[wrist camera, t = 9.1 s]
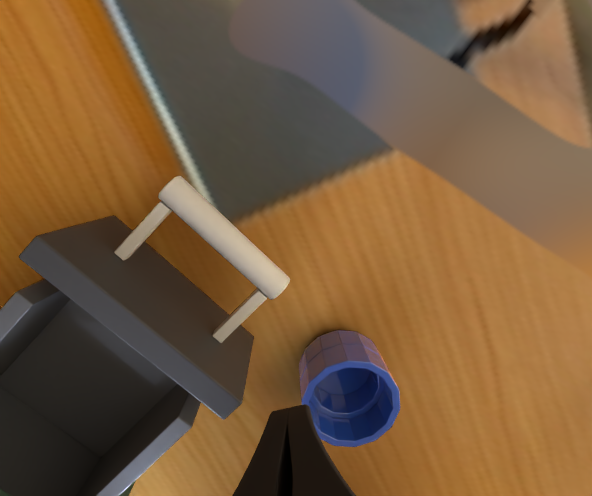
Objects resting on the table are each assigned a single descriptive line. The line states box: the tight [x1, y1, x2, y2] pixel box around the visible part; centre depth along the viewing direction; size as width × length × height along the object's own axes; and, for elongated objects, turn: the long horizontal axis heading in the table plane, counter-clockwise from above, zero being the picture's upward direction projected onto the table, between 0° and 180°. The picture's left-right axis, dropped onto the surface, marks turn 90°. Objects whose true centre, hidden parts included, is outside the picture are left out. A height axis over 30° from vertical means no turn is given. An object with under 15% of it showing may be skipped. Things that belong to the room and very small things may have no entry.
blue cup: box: [299, 330, 400, 447], centre depth 20 cm, size 5×5×4 cm
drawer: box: [0, 176, 290, 496], centre depth 17 cm, size 17×10×6 cm, turn 135°
